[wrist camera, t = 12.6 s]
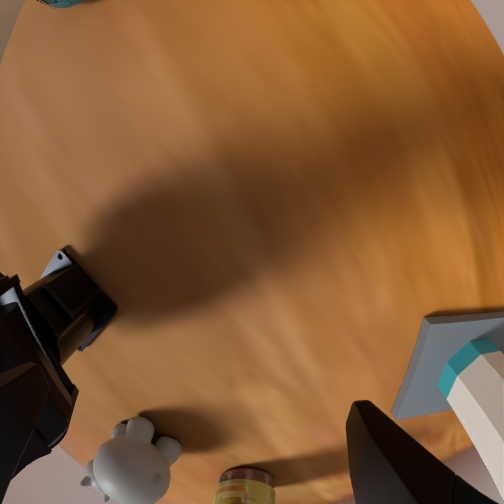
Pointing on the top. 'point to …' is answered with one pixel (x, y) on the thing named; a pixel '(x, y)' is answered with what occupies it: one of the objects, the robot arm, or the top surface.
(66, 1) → the beverage bottle
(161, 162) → the top surface
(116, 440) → the chubby cartoon animal
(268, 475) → the sauce bottle
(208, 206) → the top surface
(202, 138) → the top surface
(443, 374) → the vase
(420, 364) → the pin plate
